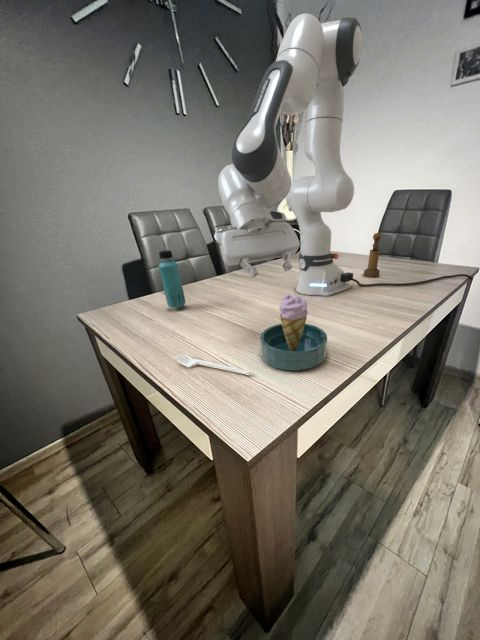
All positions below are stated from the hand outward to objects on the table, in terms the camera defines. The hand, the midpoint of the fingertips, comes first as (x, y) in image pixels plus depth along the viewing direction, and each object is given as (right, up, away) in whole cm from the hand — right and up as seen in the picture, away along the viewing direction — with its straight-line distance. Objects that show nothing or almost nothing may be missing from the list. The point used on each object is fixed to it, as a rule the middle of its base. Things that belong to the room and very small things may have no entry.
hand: (272, 272), depth 65 cm
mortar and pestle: (+47, +15, +58) cm, 76 cm away
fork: (-14, -23, -2) cm, 27 cm away
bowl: (+5, -20, +1) cm, 20 cm away
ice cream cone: (+5, -19, +1) cm, 20 cm away
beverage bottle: (-33, -4, +34) cm, 48 cm away
